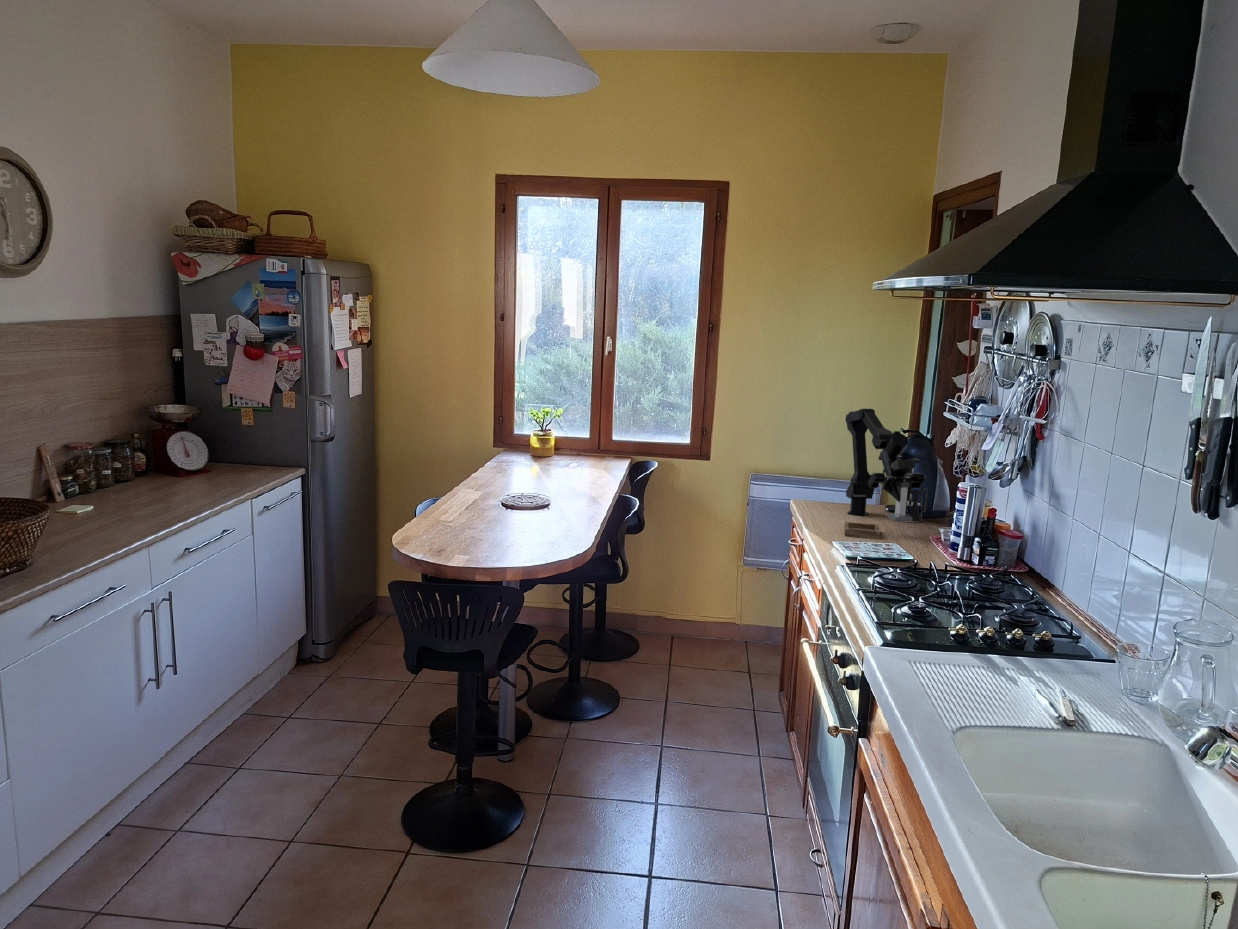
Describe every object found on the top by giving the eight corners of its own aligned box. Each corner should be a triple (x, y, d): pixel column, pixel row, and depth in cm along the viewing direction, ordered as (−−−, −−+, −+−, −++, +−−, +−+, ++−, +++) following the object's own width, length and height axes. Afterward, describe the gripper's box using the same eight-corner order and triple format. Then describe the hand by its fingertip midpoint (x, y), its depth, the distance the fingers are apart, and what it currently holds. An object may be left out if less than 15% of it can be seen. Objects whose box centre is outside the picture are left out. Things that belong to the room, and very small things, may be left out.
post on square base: (895, 521, 293) (898, 483, 291) (887, 517, 299) (890, 480, 297) (912, 521, 294) (915, 483, 292) (903, 517, 300) (907, 480, 298)
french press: (899, 522, 319) (905, 460, 315) (889, 516, 328) (894, 456, 324) (930, 522, 320) (936, 461, 316) (920, 517, 329) (925, 457, 325)
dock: (844, 528, 306) (844, 521, 305) (877, 531, 303) (878, 524, 303) (844, 536, 295) (845, 529, 294) (879, 538, 292) (880, 531, 292)
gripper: (874, 449, 295) (885, 487, 287) (925, 450, 298) (938, 488, 289) (862, 468, 304) (873, 506, 296) (913, 468, 307) (925, 506, 298)
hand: (903, 501), depth 294 cm, fingers closed on post on square base, 2 cm apart
